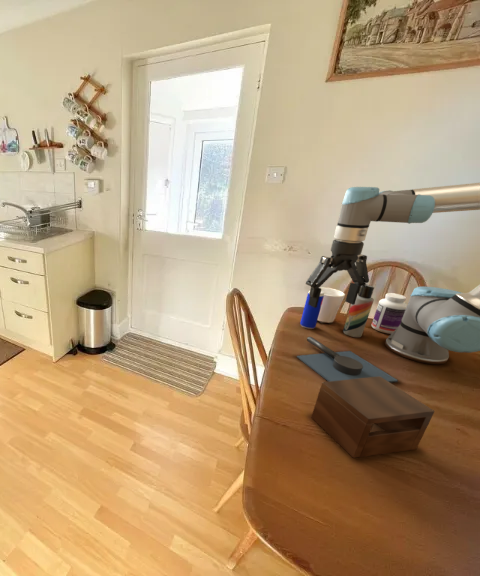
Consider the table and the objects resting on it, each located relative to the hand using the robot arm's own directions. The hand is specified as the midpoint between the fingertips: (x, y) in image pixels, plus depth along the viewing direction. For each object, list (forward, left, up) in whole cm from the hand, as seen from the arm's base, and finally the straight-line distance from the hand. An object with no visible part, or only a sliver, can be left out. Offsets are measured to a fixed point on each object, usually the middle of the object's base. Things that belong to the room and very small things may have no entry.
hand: (331, 304), depth 102 cm
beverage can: (-10, -16, -18) cm, 26 cm away
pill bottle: (-37, -9, -18) cm, 42 cm away
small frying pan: (0, +5, -17) cm, 18 cm away
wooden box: (+18, +34, -17) cm, 42 cm away
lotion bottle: (-22, -8, -18) cm, 29 cm away
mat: (0, +11, -17) cm, 20 cm away
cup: (-20, -20, -18) cm, 33 cm away
